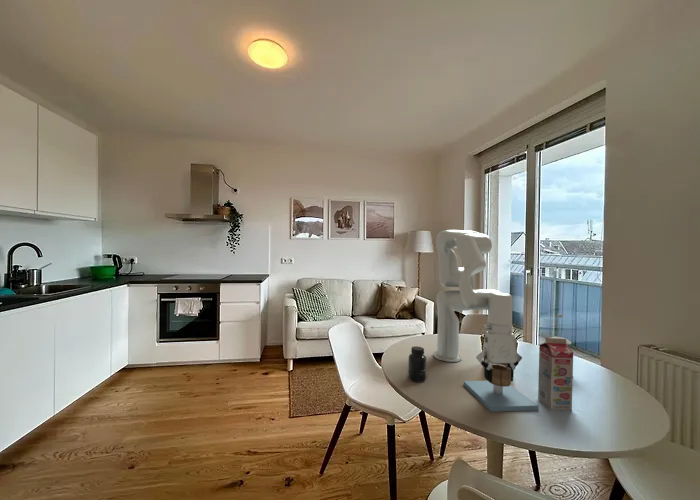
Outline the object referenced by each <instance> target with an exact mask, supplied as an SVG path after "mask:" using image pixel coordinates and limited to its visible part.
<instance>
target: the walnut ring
mask: <svg viewBox="0 0 700 500" xmlns="http://www.w3.org/2000/svg"><path fill="white" fill-rule="evenodd" d="M490 370H492V381H491V382H490V383H491V384H494V385H497V386H501V387H505V386H510V385H512V381H511V368H509V367H507V365H504V364H493V365H492V367H491V369H490ZM486 381H488V380H487V379H486ZM488 382H489V381H488Z"/></svg>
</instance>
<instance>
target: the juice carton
mask: <svg viewBox="0 0 700 500" xmlns="http://www.w3.org/2000/svg"><path fill="white" fill-rule="evenodd" d="M566 339H567V338H565V339H558V338H551V337H545V340H544V341H545V343H544V342H543V343H540V344H539V348H538V349H539V351H538V354H539V355H538V386H537V387H538V389H537V390H538V391H537V400H539V402H540V403H542V404H543V405H544V406H545V407H547V408H548V409H549V410H552V411H573V410H572V409H573V381H574V380H573V379H574V376H573V374H574V351H573V350H572V349H571V348H570V347H569V345H567V344H566Z"/></svg>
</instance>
